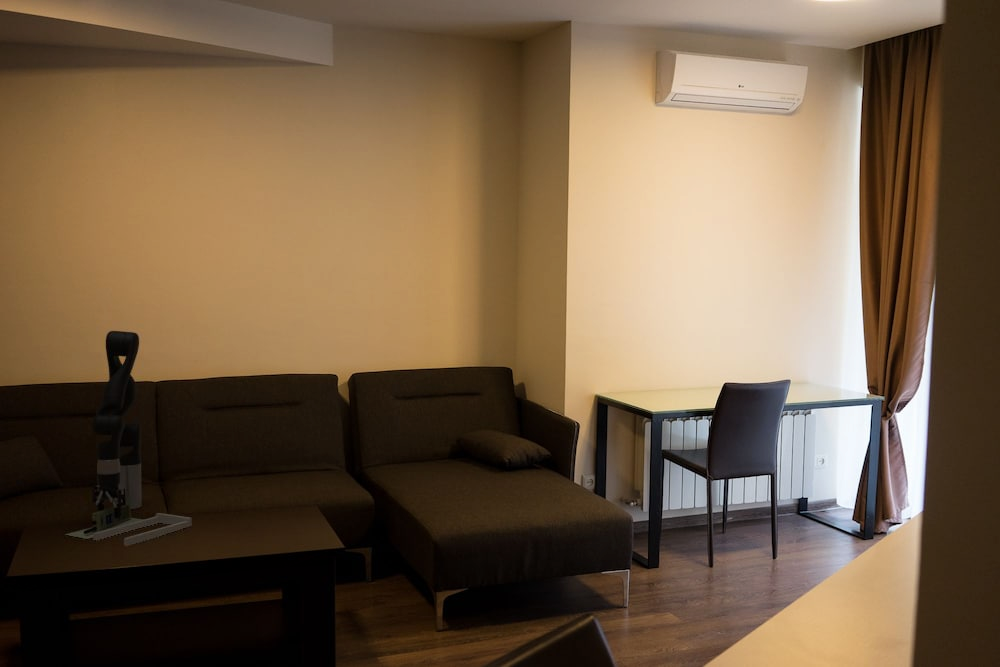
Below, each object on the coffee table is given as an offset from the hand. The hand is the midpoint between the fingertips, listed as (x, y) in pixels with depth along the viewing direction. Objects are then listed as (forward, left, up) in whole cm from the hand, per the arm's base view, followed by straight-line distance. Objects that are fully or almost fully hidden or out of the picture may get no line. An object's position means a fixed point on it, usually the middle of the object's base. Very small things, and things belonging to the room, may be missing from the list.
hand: (109, 516), depth 324 cm
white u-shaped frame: (+16, 0, -4) cm, 17 cm away
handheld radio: (0, 0, -4) cm, 4 cm away
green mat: (0, 0, -4) cm, 4 cm away
